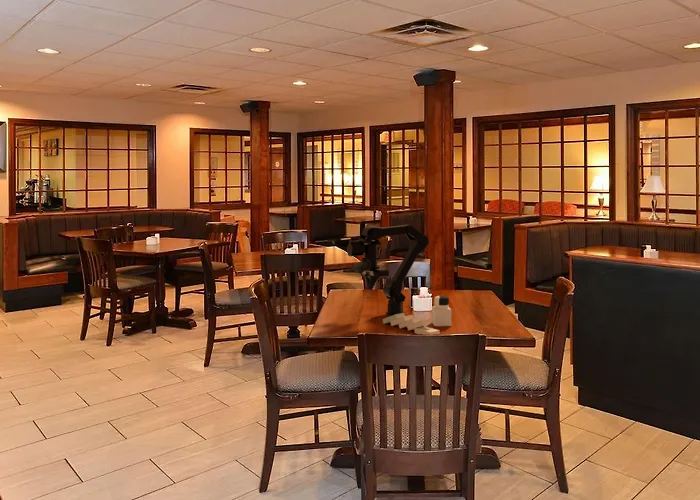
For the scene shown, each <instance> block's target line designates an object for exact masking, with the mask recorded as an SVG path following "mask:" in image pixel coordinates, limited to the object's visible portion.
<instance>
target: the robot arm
mask: <svg viewBox="0 0 700 500" xmlns="http://www.w3.org/2000/svg"><path fill="white" fill-rule="evenodd" d="M361 232H362V233H361V234H360V236H359V237H358V239H357V240H348V244H347V248H346V253H347V255H348V256H349V257H360V256H361V257H362V258H361V261H359V262H357V263H355V264H354V265H352V273H355V274H356V273H357V274H360V276H362V277H364V278H365V281H366V284H367V287H368V290H369V291H372V290H373V288H374V286H375V284H376V283H377V281H378V279H379V278H381V277H382V278H383V277H390V271H389V269H387V268H380V266H378V261H379V260H380V257H379V256H378V246H379V245H382V242H381V241H380V239H382V238H384V237H391V236H397V235H398V236H399V235H405V236H406V237H407V239H408V240H409V244H408V251H407V252H406V254H405V256H404V258H403V259H402V261H401V263H400V265H399V266H398V268H397V270H396V272H395V273H394V275H393V276H392V278H386V280H385V283H384V284H383V285H382V286H383V288H382V292H383V294H384V296H385V298H386V299H387V300H388V301H387V311H386V312H385V314H388V315H390V316H393V315H395V314H401V313H404V314H405V315H406V312H405V311H404V302H405V301H406V296H405V295H404V294H403V293H402V290H403V284H404V281H405V279H406V277H407V275H408V274H409V273H410V270H411V268H412V267H413V265H414V263H415V261H416V259H417V257H418V256H419V255H420V254H421V253H423V251H425V249H426V248H427V246H428V245H429V243H430V240H429V238H428V236H427V235H424V234H422V233H421V232H420V231H419V230H417V229H416V228H415V227H414V226H413V225H411V224H403V225H402V224H401V225H393V226H386V227H385V226H384V227H383V226H382V227H380V226H379V227H378V226H371V225H369V226H365V227H364V228H363V229H362V231H361Z"/></svg>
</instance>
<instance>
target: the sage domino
mask: <svg viewBox="0 0 700 500" xmlns="http://www.w3.org/2000/svg"><path fill="white" fill-rule="evenodd" d="M404 316H406V313H405V314H404V313H401V314H395V315H390V316H387V317H385V318H383V319H382V323H383V324H389V323H390V321H393V320H396V319H398V318H401V317H404ZM390 324H391V323H390Z"/></svg>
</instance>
